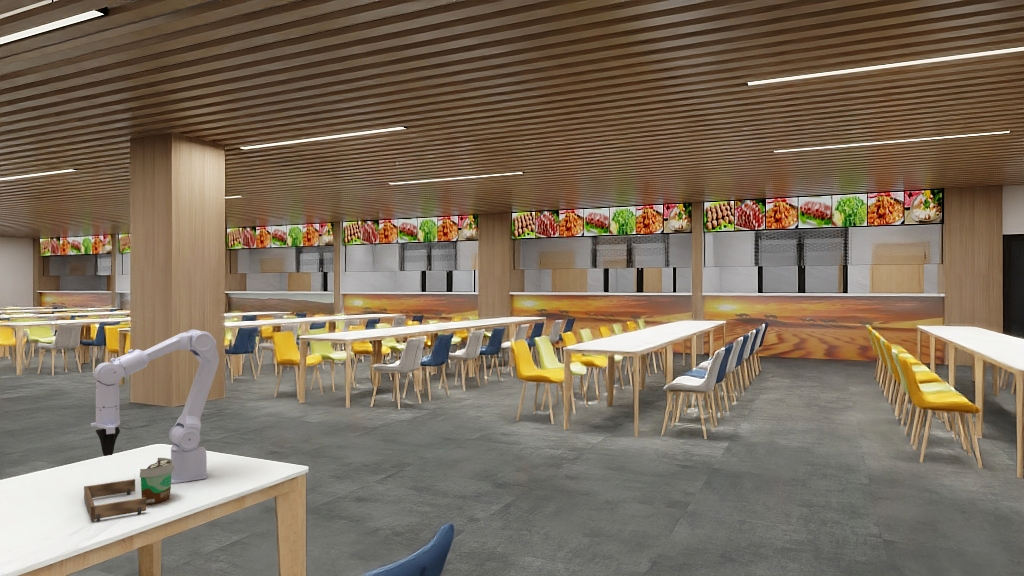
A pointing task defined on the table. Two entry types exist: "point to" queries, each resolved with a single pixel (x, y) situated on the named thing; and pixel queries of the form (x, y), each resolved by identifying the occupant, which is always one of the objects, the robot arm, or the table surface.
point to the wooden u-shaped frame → (115, 507)
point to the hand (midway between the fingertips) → (107, 454)
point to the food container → (157, 481)
